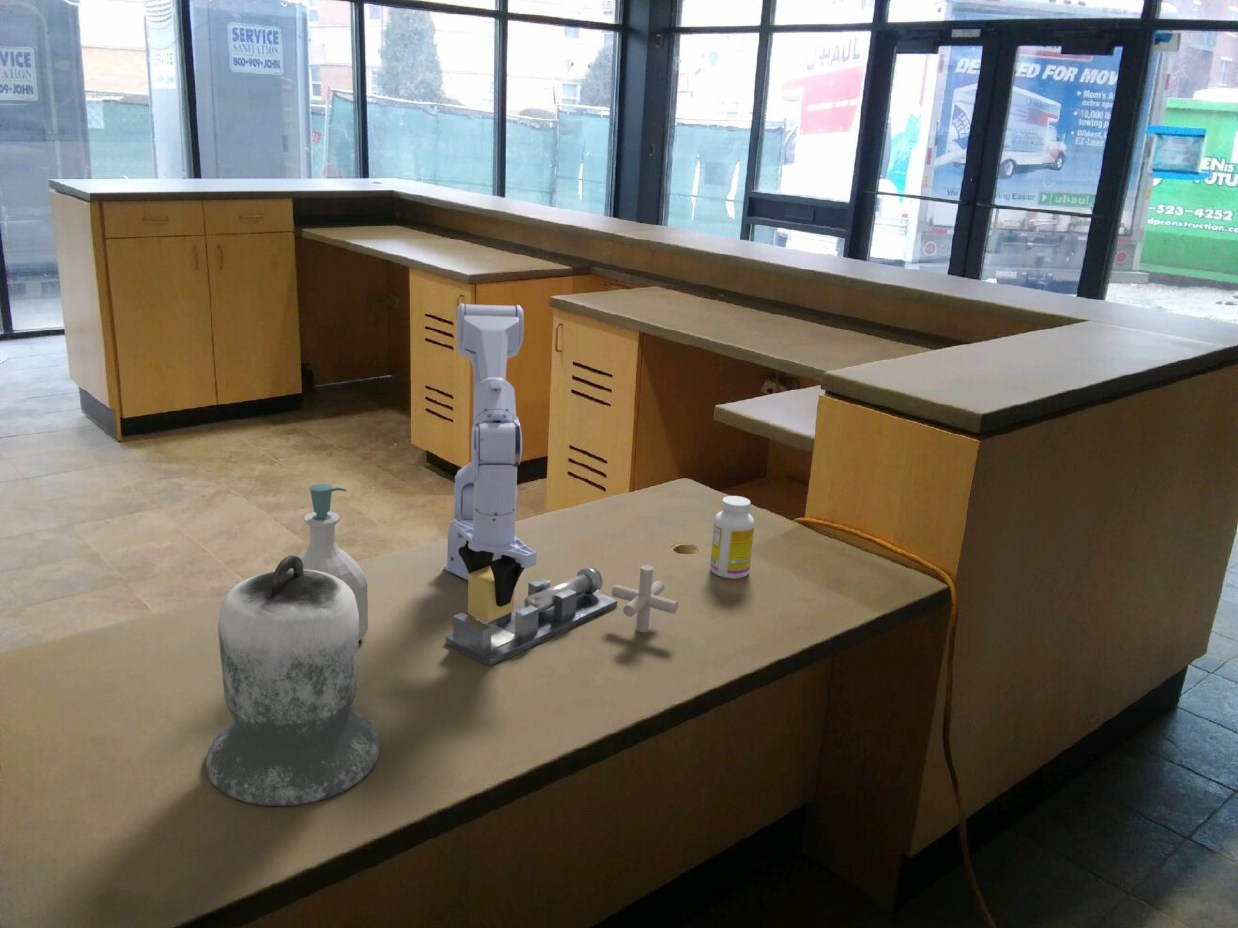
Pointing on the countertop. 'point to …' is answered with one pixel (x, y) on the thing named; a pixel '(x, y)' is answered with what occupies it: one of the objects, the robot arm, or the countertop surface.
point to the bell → (290, 690)
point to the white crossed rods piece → (644, 598)
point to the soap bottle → (333, 551)
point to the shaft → (582, 583)
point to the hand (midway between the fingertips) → (492, 598)
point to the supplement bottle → (732, 538)
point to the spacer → (485, 596)
